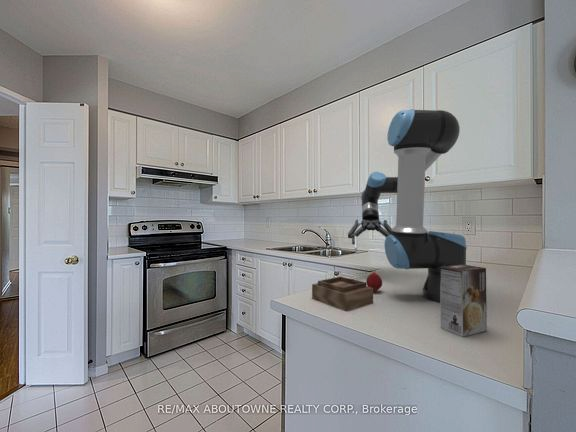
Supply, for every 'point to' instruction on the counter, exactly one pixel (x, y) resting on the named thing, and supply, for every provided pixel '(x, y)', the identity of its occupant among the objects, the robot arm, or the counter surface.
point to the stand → (343, 293)
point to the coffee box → (463, 299)
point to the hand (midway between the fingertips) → (372, 250)
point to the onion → (374, 281)
